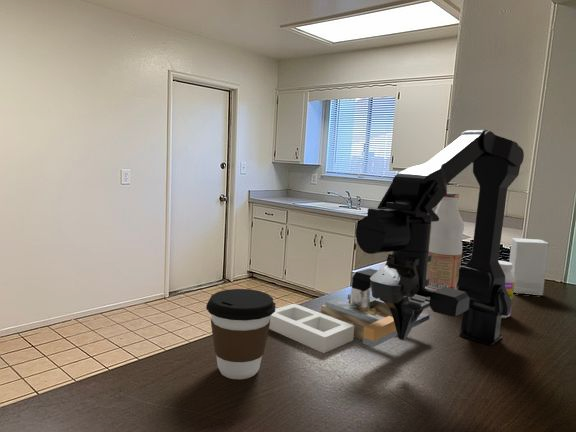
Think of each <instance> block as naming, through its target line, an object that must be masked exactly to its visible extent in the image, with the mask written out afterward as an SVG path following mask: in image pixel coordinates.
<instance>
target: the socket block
mask: <svg viewBox="0 0 576 432" xmlns="http://www.w3.org/2000/svg"><path fill="white" fill-rule="evenodd" d="M347 303H348V304H350V303H351V300H349V299H348V302H347ZM371 307H373V308H375V309H376V317H379V318H382V319H383V318H385V317H388V316H391V317H393V316H392V313H391V311H390V309H387V308H384V307H381V306H378V305H372V306H371ZM319 313H322V314H324V315H327V316H330V317H333V318H335V319H338V320H341V321H344V322H346V323H349V324H352V325H354V336H353V338H356V339H359V340H361V341H363V336H364V326H366V325H369V324H371V323H372V322H369V321H366V320H363V319H360V318H357V317H354V316H352V315H349V314H346V313H343V312H340V311H337V310H334V309H331V308H329V307H326V306H325V304H323V305H321V307H320V311H319Z"/></svg>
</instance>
